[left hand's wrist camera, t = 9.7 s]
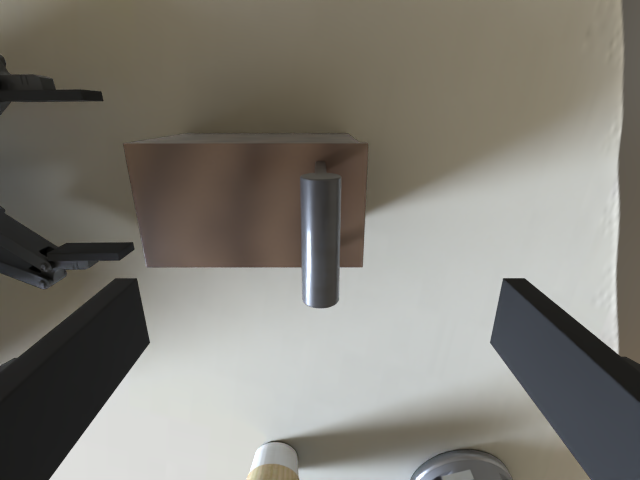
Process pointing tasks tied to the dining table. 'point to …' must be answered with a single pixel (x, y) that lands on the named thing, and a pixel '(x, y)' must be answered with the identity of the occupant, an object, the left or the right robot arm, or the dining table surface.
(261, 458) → the coffee cup
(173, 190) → the panel with cylinder handle
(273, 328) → the dining table surface
